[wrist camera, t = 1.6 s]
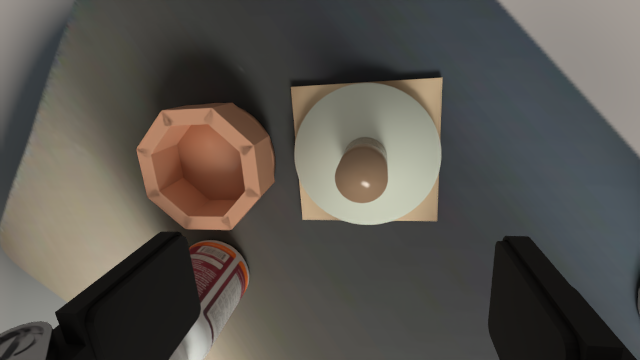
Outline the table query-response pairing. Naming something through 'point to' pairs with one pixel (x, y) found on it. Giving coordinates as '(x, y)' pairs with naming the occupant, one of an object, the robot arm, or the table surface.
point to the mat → (419, 89)
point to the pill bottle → (213, 295)
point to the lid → (367, 153)
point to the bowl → (206, 164)
